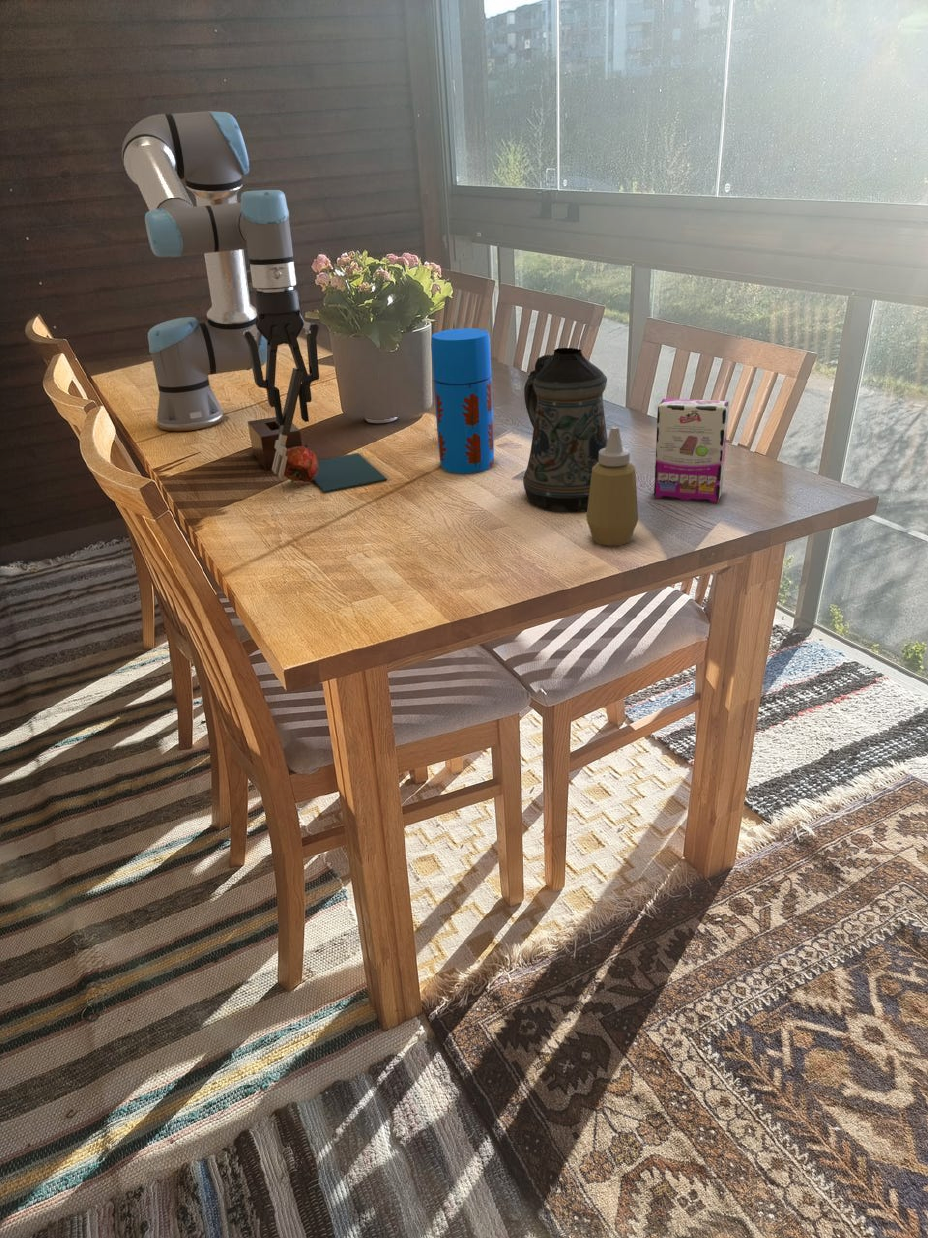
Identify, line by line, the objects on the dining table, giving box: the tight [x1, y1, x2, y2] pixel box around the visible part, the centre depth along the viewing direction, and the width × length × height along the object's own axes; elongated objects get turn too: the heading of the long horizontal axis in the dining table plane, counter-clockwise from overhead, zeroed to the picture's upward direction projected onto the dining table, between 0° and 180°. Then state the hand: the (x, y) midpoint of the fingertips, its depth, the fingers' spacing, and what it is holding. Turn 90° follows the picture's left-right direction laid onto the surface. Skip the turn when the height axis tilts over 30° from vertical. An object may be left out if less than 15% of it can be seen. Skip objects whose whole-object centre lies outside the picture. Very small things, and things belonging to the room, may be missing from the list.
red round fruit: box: [284, 444, 318, 489], centre depth 168 cm, size 7×7×10 cm
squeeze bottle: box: [586, 426, 639, 547], centre depth 135 cm, size 8×8×18 cm
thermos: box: [430, 327, 495, 475], centre depth 168 cm, size 11×11×25 cm
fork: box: [271, 367, 304, 478], centre depth 164 cm, size 6×2×20 cm, turn 23°
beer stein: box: [522, 347, 609, 513], centre depth 151 cm, size 16×19×25 cm
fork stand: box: [247, 416, 303, 472], centre depth 182 cm, size 13×8×7 cm, turn 24°
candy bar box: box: [653, 398, 730, 503], centre depth 149 cm, size 11×5×16 cm, turn 69°
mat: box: [312, 452, 388, 494], centre depth 174 cm, size 18×12×1 cm
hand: (292, 421), depth 164 cm, fingers closed on fork, 4 cm apart
